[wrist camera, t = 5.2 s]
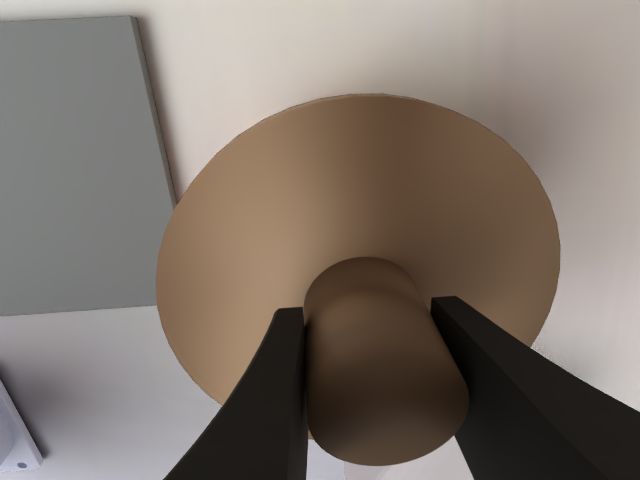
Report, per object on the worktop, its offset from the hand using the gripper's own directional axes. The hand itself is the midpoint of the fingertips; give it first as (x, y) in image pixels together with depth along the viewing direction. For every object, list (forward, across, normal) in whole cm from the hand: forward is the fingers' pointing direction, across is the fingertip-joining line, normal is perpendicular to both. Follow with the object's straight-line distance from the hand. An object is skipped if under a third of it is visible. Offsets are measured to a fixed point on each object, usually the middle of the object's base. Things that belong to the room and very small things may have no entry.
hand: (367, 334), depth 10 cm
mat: (+9, +13, -2) cm, 16 cm away
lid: (+2, 0, 0) cm, 2 cm away
